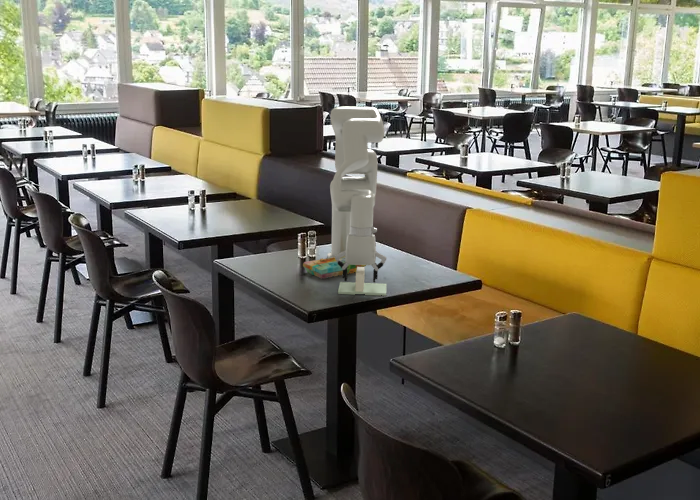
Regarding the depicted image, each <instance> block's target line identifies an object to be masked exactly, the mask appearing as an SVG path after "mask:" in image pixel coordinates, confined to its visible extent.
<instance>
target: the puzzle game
mask: <svg viewBox="0 0 700 500" xmlns="http://www.w3.org/2000/svg"><path fill="white" fill-rule="evenodd" d="M340 260H341V261H342V262H343V263H345V262H346V260H345V256H343V257H341V258H340ZM366 266H367V265H350V264H349V265H348V266H347V275H350V274H355V273H356V271H357V267H365V268H366ZM302 268H303V269H304V270H305V271H306V272H307V273H308V274H309V275H312V276H315V277H316V278H317V277H318V278H319V277H320V278H319V279H322V278H323V279H327V277H329V278H333V277H332V276H334V277H339V276H343V269H342V268H341V267H340V266H339V265H338V263H337V261H336V259H335V257H333V258H323V257H322V258H320V259H315V260H310V261H309V260H307V261H304V262H303V263H302ZM354 272H355V273H354ZM349 273H350V274H349ZM338 275H339V276H338Z"/></svg>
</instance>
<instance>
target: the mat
mask: <svg viewBox="0 0 700 500" xmlns="http://www.w3.org/2000/svg"><path fill="white" fill-rule="evenodd" d="M387 286H388V285H387V283H377V282H364V290H363V292H357V291H356V282H351V281H350V282H349V281H348V282H347V281H340V282H339V286H338V291H337V294H338V295H355V294H365V295H364V296H381V295H382V297H383V296H387Z"/></svg>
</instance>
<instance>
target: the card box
mask: <svg viewBox="0 0 700 500" xmlns="http://www.w3.org/2000/svg"><path fill="white" fill-rule="evenodd" d="M365 268H366V266H365V267H357V271H356V272H355V283H356V291H357V292H363V290H364V283H365V276H366V275H365V271H366V269H365Z"/></svg>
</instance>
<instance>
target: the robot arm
mask: <svg viewBox="0 0 700 500" xmlns="http://www.w3.org/2000/svg"><path fill="white" fill-rule="evenodd" d="M330 124H331V127H332V129H333V133H334V136H335V147H334V149H335V152H334V156H335V157H334V166H335V167H334V168H335V171H336V172H335V174H334V176H333V179H332V180H331V182H330V185H329V189H330V191H329V192H330V198H331V246H330V247H331V249H330V251H331V252H328V253H326V254H327V255H326V257H327V258H333V257H335V259H336V261H337V263H338V265H339V266H340V267H341V268H342V269H343V275H342V279H344V282H347V281H348V274H347V266H348V265H349V264H350V265H366V266H371V267H372V269H373V272H372V273H373V275H372V281H373V282H372V283H376V280H378V274H379V273H378V272H379V270H380V269H381V268H382V267H383V266H384V265H385V263H386V261H387V257H386V256H385V255H383V254H382V253H380V252H377V245H376V244H377V242H376V236H375V234H374V233H377V232H378V228H377V227H374V207H375V205H376V194H377V183H378V163H379V162H378V156H377V153H376V151H374V150H373V149H369V146H368V145H369V144H370V143H377V144H378V143H381V142H382V141H383V140H384V138H385V126H384V122H383V119H382V117H381V113H380V111H379V109H377V107H373V106H336V107H334V108H332V109H331V111H330ZM346 175H363V176H346ZM343 256H345V260H346V262H345V263H343V262H342V261H341V260H340V258H341V257H343ZM327 258H326V259H327ZM377 258H378V259H380V261H379V263H376V259H377Z"/></svg>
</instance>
